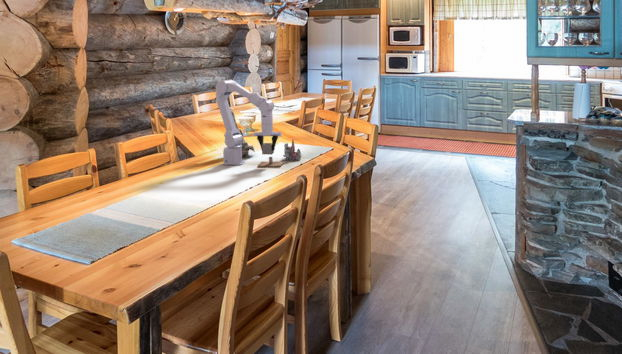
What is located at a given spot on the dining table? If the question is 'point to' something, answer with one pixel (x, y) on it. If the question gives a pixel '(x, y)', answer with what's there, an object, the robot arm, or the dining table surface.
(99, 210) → the dining table surface
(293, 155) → the red grey chunky piece
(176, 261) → the dining table surface
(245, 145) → the statue
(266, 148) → the collar
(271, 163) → the shaft block
